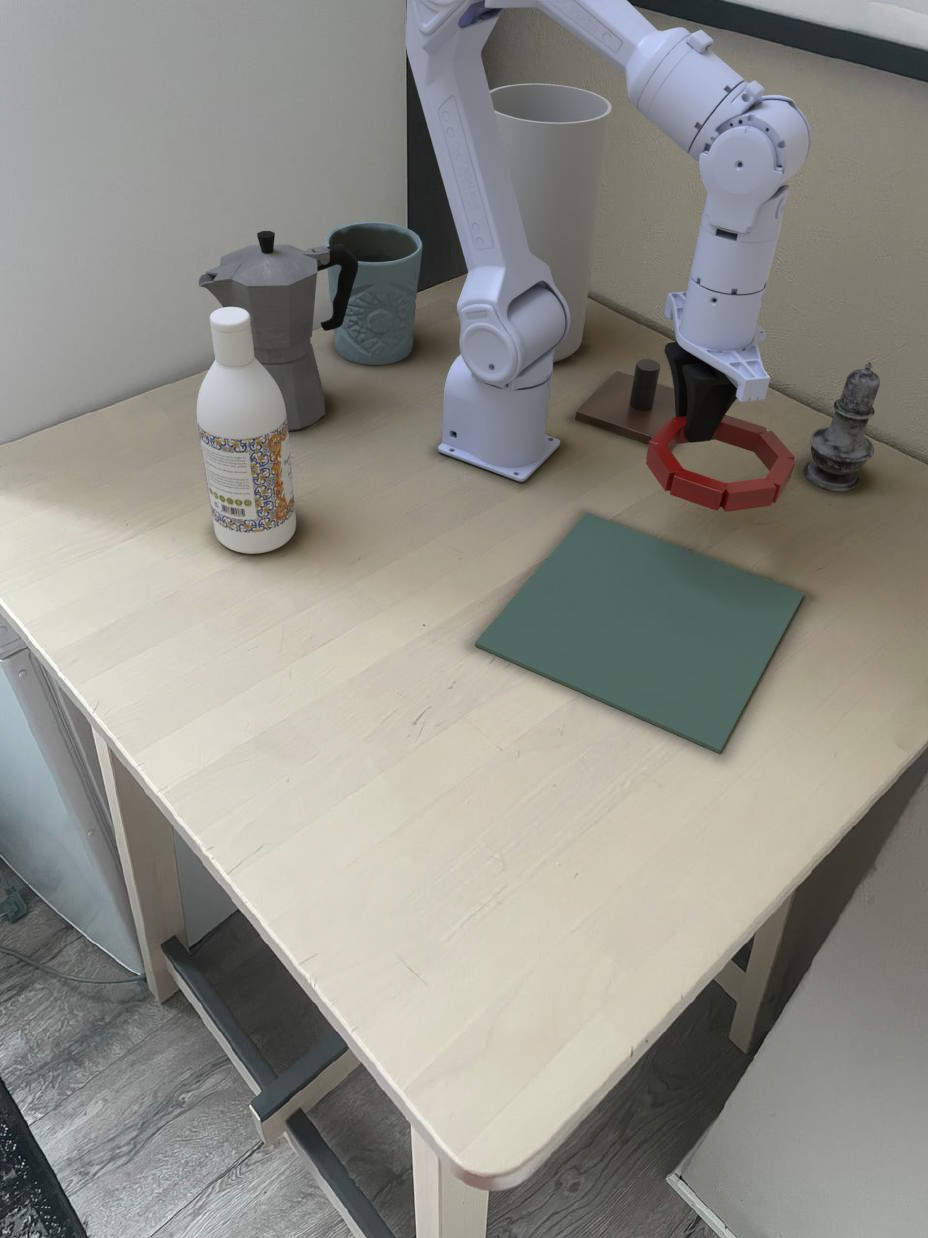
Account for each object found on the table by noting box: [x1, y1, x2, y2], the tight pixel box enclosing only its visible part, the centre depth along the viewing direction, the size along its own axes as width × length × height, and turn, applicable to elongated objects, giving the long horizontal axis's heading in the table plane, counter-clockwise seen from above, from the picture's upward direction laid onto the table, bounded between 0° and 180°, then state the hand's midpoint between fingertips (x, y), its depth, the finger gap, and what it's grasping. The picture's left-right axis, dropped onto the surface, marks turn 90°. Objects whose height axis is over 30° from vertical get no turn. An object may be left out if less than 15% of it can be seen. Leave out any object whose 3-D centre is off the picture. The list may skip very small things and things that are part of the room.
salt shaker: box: [802, 361, 881, 492], centre depth 95 cm, size 6×6×12 cm
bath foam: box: [196, 307, 297, 555], centre depth 82 cm, size 7×7×20 cm
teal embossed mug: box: [323, 221, 423, 366], centre depth 109 cm, size 10×10×12 cm
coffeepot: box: [198, 230, 358, 432], centre depth 98 cm, size 15×9×18 cm, turn 120°
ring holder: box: [574, 358, 676, 445], centre depth 104 cm, size 10×10×6 cm
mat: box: [474, 512, 805, 754], centre depth 82 cm, size 20×20×1 cm
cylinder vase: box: [489, 83, 613, 363], centre depth 108 cm, size 12×12×25 cm
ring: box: [645, 414, 797, 513], centre depth 83 cm, size 11×11×2 cm
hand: (693, 433), depth 87 cm, fingers closed on ring, 1 cm apart
